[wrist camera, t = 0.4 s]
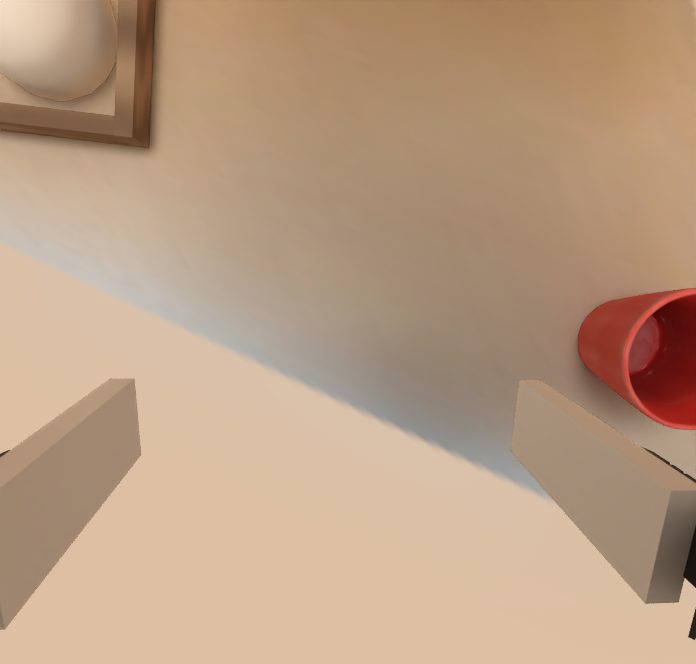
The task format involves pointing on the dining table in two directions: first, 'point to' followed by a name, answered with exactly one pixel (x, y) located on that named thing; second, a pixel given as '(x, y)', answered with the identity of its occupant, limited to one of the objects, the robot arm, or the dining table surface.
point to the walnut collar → (129, 94)
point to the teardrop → (57, 45)
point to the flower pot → (647, 353)
